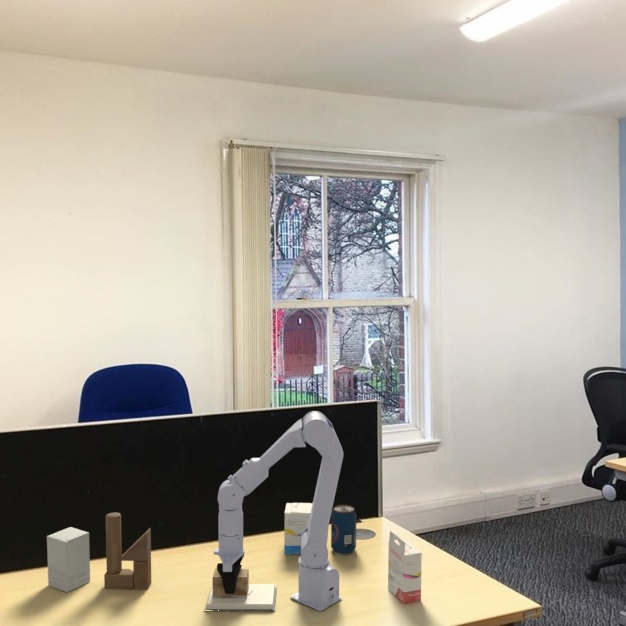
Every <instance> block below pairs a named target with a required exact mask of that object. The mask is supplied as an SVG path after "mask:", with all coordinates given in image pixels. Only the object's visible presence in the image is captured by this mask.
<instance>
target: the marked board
mask: <svg viewBox="0 0 626 626" xmlns="http://www.w3.org/2000/svg"><path fill="white" fill-rule="evenodd" d="M275 586H276V583H249V590H248V595H247V598H213V585H212V586H211V588H210V591H209V595H208V598H207V601H206V605H205V608H204V611H205V610H213V611H218V610H219V611H250V613H251V612H252V611H256V612H255V613H257V611H276V603H277V602H276V601H277V593H278V587H275Z"/></svg>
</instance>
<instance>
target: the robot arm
mask: <svg viewBox="0 0 626 626" xmlns="http://www.w3.org/2000/svg"><path fill="white" fill-rule="evenodd" d="M306 443H307V444H308V445H310V446H311V447H313V448H314V449H315V450H317V452H318V453H319V454H320V456H321V457H322V458H321V462H320V468H319V472H318V476H317V481H316V486H315V490H314V496H313V498H312V499H313V500H312V503H313V504H312V509H311V514H310V518H309V520H308V522H307V526H306V529H305V530H304V531H303V532H302V534H301V536H300V544H301V554H300V555H299V557H298V591H297V592H296V593H294V594H292V595H290V598H291V599H292V600H294V601H296V602H298V603H301V604H303V605H305V606H308V607H310V608H311V609H315V610H316V611H319V612H320V611H323V610H325V609H326V608H328V607H330V606H332V605H334V604H335V603H337V602H339V601H340V600H342V596H340V573H339V571H338V570H337V569H336V568H335V567H334V566H332V564H331V563H330V558H329V549H328V546H327V544H328V540H329V525H330V522H331V514H332V512H333V508H334V506H333V505H334V503H335V496H336V493H337V488H338V483H339V480H340V479H339V478H340V474H341V470H342V469H341V468H342V464H343V459H344V451H343V447H342V445H341V442H340V440H339V437H338V435H337V433H336V431H335V429H334V426H333V423H332V422H331V420H329V419H328V417H327V416H326V415H325V414H324V413H322V412H321V411H319V410H317V411H316V410H312V411H309V412H307V413H306V414H305V415H304V416H303V417H302V418H300V419H298V420H297V421H296V422H295V423H293V425H292V426H290V427H289V428H288V429H287V430H286V431H285V432H284V433H282V435H281V436H280V437H279V438H278V439H277V440H276V441H275V442H274V443H273V444H272V445H271V446H270V447H269V448H268V449H267V450H266V451H265V452H264V453H263V454H262V455H261V456H260V457H252V458H250V459H249V460H248V459H245V460H244V461H243V462H242V467H240V468H239V469H238V470H237V471H236V472H235V473H234V474H233V475H232V474H230V475H229V476H228V477H227V479H226V480H224V481H222V483H221V485H219V489H218V493H217V503H218V511H219V512H218V547H217V548H214V549H213V555H214V556H215V555H217V556H218V557H219V559H220V561H221V563H220V562H218V563H217V564H216V569H217V571H218V572H219V574H220V576H221V578H222V582H223V587H224V591H225V594H234V592H235V588H236V581H237V576H238V574H239V572H240V570H241V569H242V564H241V563H242V561H243V558H244V556H245V548H244V512H243V503H244V497H246V496H249V495H250V494H251V493H252V492H253V491H254V490H255V489H256V488H258V486H259V485H261V484H262V483H263V482H264V481H265V480H266V479H267V478H268V477H269V470H270V468H271V467H272V466H274V465H275V464H276V463H277V462H278V461H280V460H281V459H282V458H283V457H284V456H286V455H287V454H288V453H289V452H291V450H293V449H294V448H306V447H307V445H306Z"/></svg>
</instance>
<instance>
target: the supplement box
mask: <svg viewBox="0 0 626 626" xmlns="http://www.w3.org/2000/svg"><path fill="white" fill-rule="evenodd" d="M46 548H47V550H46V551H47V553H46V554H47V582H48V583H47V584H48V586H49V587H51V588H54V589H58V590H60V591H63V592H65V593H68V592H70V591H72V590H75V589H77V588H79V587H82V586H83V585H84V586H85V585H86V584H87V583H90V582H91V563H90V562H91V559H90V532H89V531H85V530H81V529H79V528H76V527H72V526H70V527H67V528H64V529H62V530H59V531H56V532H54V533H52V534H49V535H46Z"/></svg>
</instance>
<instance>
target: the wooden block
mask: <svg viewBox="0 0 626 626" xmlns="http://www.w3.org/2000/svg"><path fill="white" fill-rule="evenodd" d="M151 532H152V531H151V527H149V528H148V529H147V530H146V531H145V532H144V533H143V534H142V535H141V536H140V537H139V538H138V539H137V540H136V541H135V542H134V543H133V544H132V545H131V546H129V548H127V550H126V551H125V552H124V553H122V514H121V513H120V512H116V511H115V512H109V513H107V514H106V515H105V550H106V552H105V554H106V572H105V573H104V575H103V577H104V578H103V579H104V581H103V583H104V589H121V590H123V589H125V590H127V589H128V590H133V589H134V590H149V588H150V586H151V584H152V538H151V537H152V536H151V535H152V533H151ZM123 561H125V562H126V561H127V562H132V563H133V564H132V565H133V568H132V569H133V570H132V569H130V568H123V566H122V565H123V563H122V562H123Z"/></svg>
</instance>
